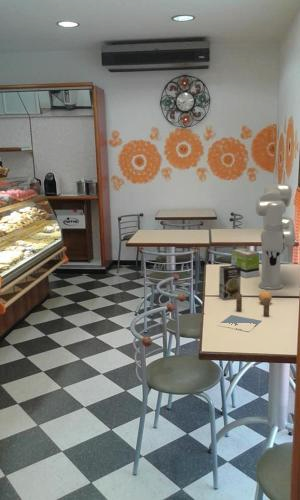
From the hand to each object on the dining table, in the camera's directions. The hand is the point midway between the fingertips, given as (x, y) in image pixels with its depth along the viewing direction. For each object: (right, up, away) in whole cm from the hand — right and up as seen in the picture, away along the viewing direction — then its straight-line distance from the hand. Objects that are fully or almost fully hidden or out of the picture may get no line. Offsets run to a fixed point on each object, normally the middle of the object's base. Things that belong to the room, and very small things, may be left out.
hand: (272, 265), depth 208 cm
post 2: (-9, -22, -20) cm, 31 cm away
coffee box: (-20, -17, +7) cm, 27 cm away
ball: (-5, -15, -5) cm, 17 cm away
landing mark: (-22, -24, -28) cm, 43 cm away
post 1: (-19, -21, -13) cm, 31 cm away
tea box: (-3, -8, +49) cm, 49 cm away
